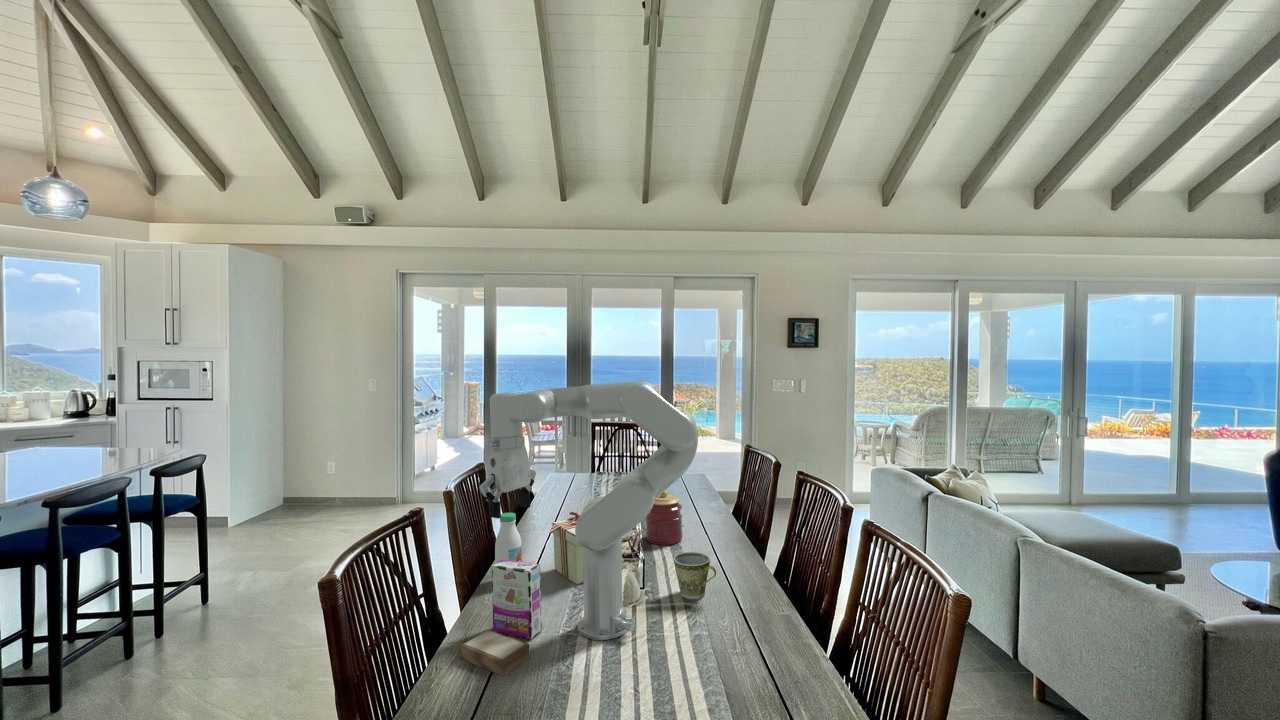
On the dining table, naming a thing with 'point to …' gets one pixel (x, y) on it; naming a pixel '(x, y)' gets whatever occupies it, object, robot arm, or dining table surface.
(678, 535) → the canister
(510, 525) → the milk bottle
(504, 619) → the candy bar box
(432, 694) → the dining table surface
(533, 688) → the dining table surface
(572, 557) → the gift box
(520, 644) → the walnut plinth
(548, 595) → the dining table surface
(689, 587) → the ceramic cup
